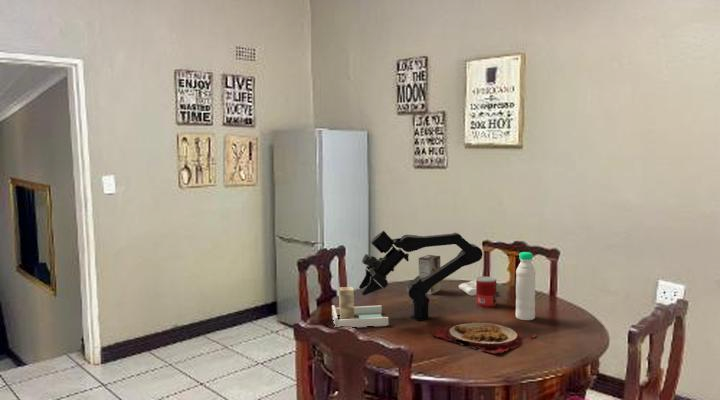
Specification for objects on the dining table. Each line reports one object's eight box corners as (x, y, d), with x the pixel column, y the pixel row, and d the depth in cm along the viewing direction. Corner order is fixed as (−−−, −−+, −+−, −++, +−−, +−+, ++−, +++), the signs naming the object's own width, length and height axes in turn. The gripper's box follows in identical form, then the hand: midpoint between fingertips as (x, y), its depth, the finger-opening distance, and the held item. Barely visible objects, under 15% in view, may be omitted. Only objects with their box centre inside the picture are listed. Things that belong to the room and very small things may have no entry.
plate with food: (498, 359, 164) (499, 348, 164) (430, 337, 183) (430, 327, 182) (537, 340, 181) (537, 329, 181) (471, 321, 200) (471, 312, 200)
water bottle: (536, 321, 197) (537, 254, 195) (516, 320, 199) (516, 254, 196) (533, 315, 204) (534, 251, 202) (514, 314, 206) (515, 250, 203)
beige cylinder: (352, 318, 204) (352, 286, 203) (354, 322, 199) (353, 290, 198) (339, 319, 203) (339, 287, 202) (340, 323, 198) (340, 290, 197)
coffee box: (428, 288, 247) (428, 254, 246) (441, 290, 243) (440, 255, 242) (418, 292, 240) (418, 257, 239) (431, 294, 236) (430, 259, 235)
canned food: (498, 307, 216) (498, 280, 215) (478, 307, 216) (478, 280, 215) (493, 302, 223) (493, 276, 222) (474, 302, 223) (474, 276, 222)
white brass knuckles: (456, 288, 248) (485, 286, 251) (470, 298, 230) (502, 296, 233) (456, 281, 248) (485, 279, 250) (470, 291, 230) (502, 289, 233)
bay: (381, 312, 211) (381, 302, 211) (388, 325, 195) (388, 315, 195) (332, 315, 208) (331, 305, 208) (335, 328, 193) (335, 317, 192)
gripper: (371, 243, 209) (343, 271, 209) (378, 251, 191) (348, 283, 191) (391, 262, 211) (363, 290, 211) (400, 272, 193) (370, 303, 192)
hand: (361, 291), depth 201 cm, fingers open, 9 cm apart
